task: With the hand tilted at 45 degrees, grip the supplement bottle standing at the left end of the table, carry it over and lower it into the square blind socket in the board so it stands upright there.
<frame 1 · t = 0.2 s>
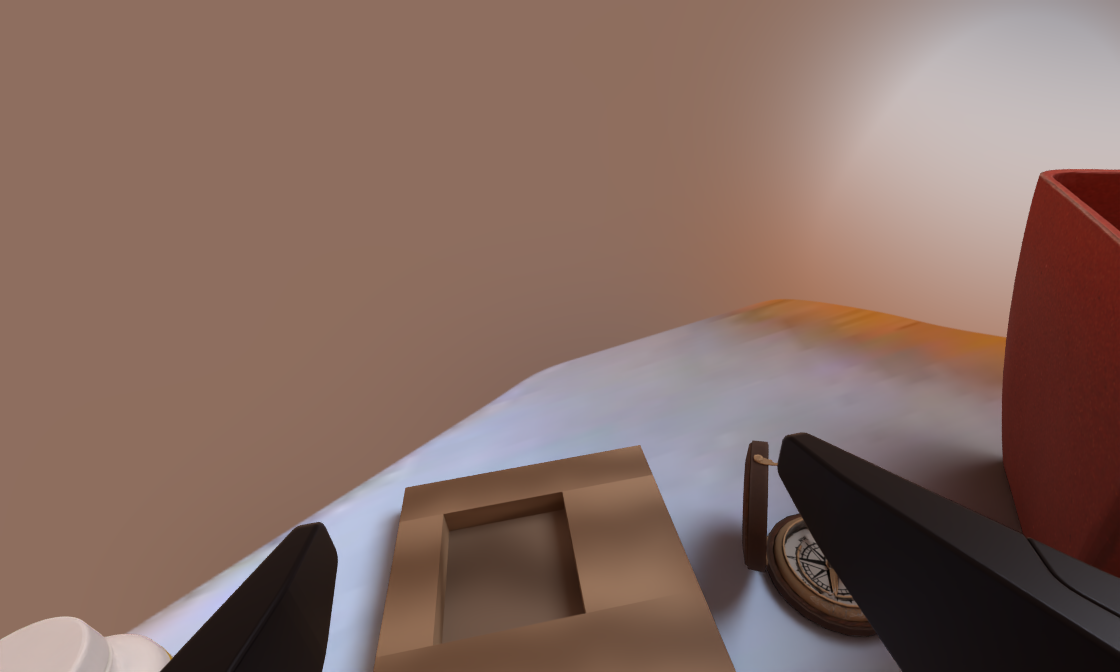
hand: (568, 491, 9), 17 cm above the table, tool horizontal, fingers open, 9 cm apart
compass: (809, 555, 24), on the table
socket board: (512, 579, 25), on the table
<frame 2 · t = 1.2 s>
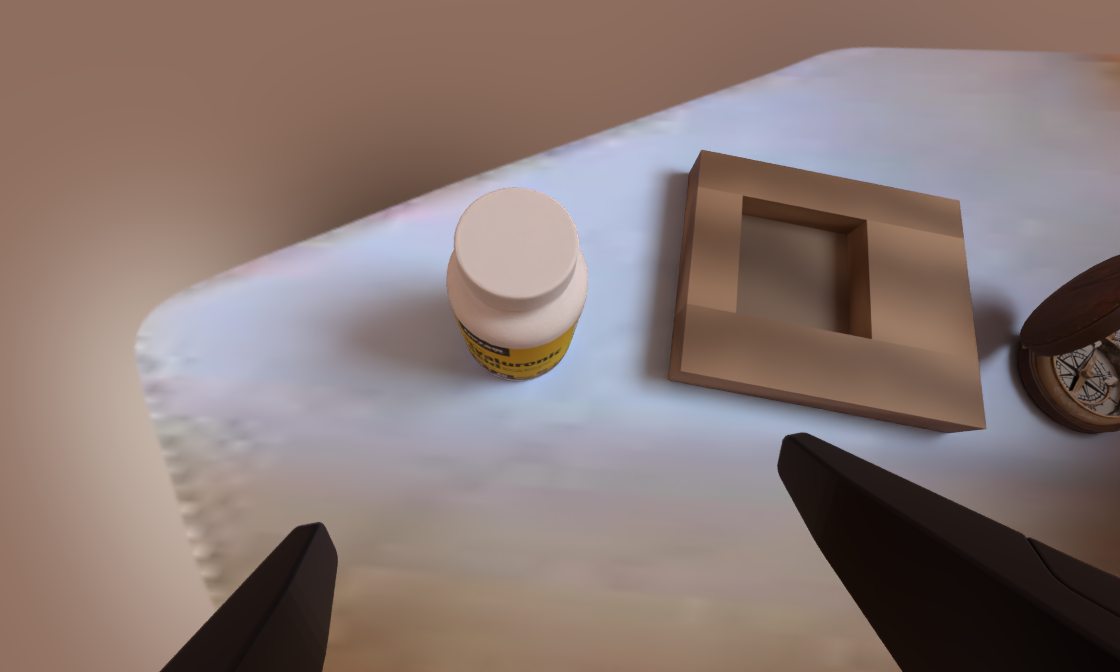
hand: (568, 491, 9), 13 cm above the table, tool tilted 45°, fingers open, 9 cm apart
compass: (1056, 357, 26), on the table
socket board: (784, 280, 26), on the table
supplement bottle: (519, 334, 24), on the table
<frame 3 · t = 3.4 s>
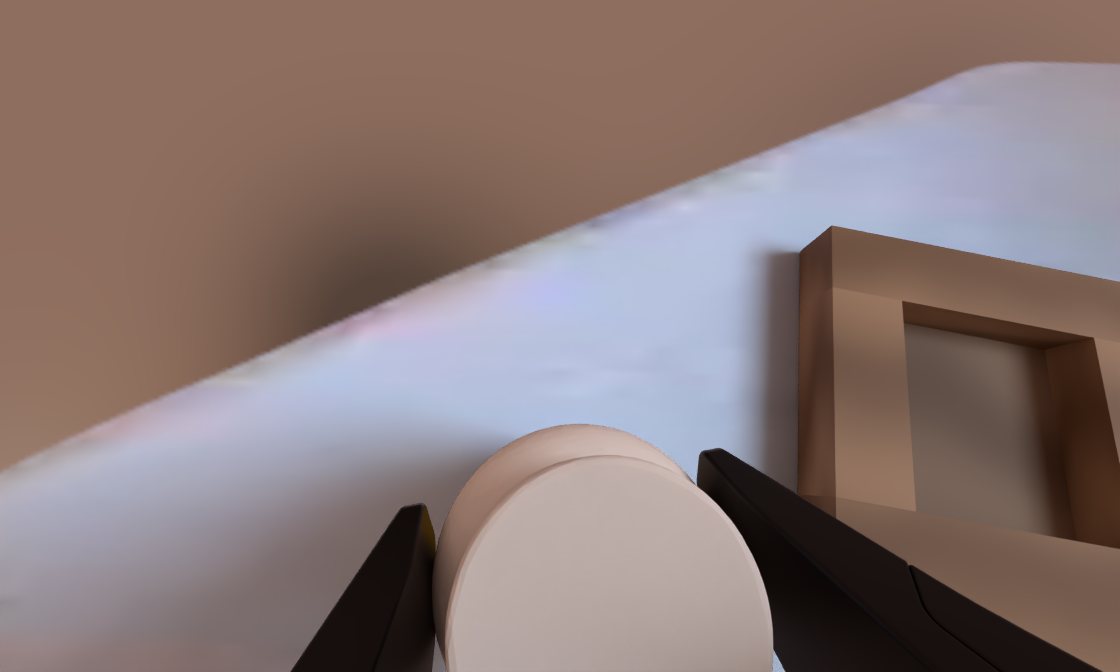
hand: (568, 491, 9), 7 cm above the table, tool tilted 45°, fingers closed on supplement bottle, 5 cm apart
socket board: (956, 424, 17), on the table
supplement bottle: (555, 530, 15), on the table, touching gripper
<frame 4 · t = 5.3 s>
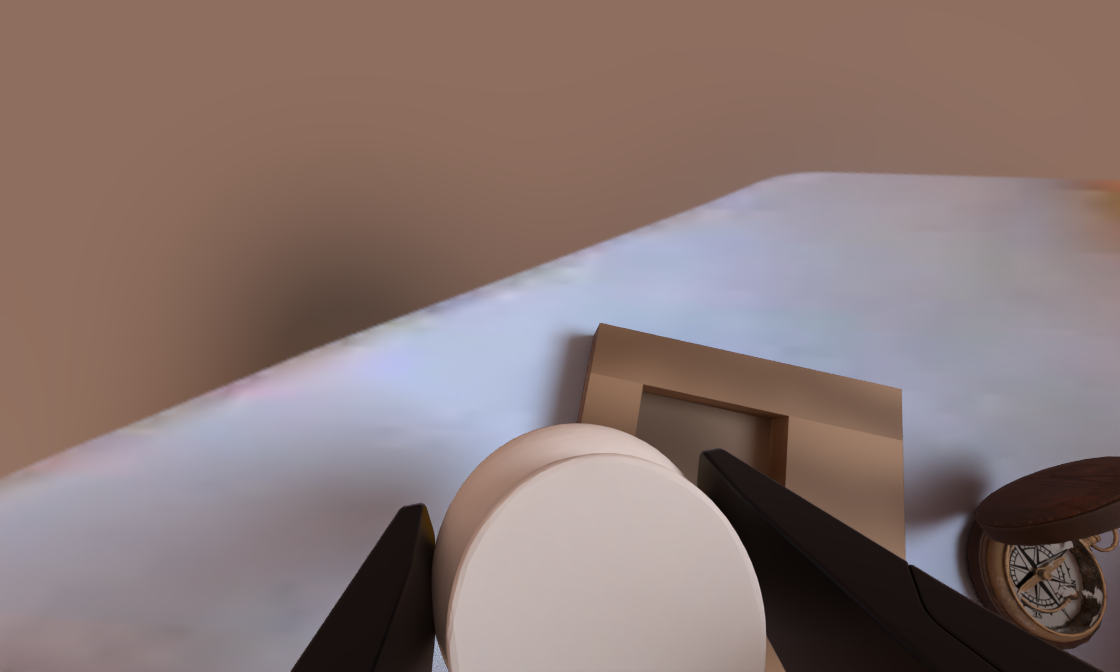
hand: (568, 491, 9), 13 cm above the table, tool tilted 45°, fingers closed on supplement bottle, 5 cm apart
compass: (1020, 544, 23), on the table
socket board: (692, 476, 22), on the table
supplement bottle: (551, 528, 15), point 6 cm above the table, touching gripper
when the fingers open (9 cm above the table, at t = 7.3 s): supplement bottle drops 2 cm, resting on socket board.
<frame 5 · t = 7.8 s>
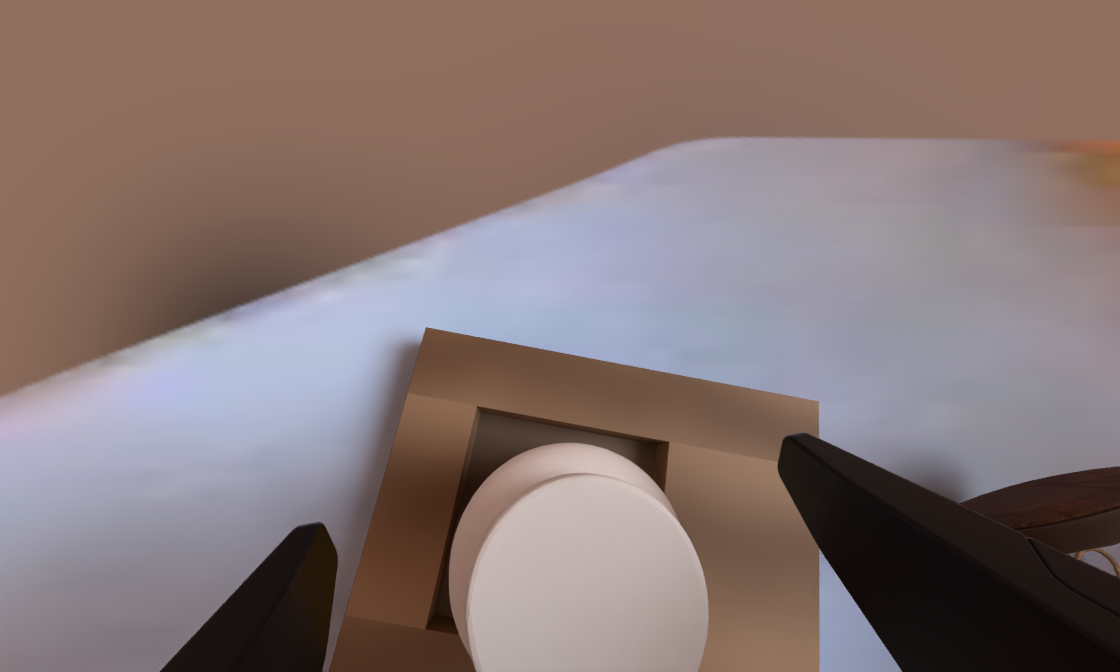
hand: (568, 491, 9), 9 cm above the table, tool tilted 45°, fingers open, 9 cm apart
compass: (994, 575, 18), on the table
socket board: (552, 522, 17), on the table
supplement bottle: (551, 529, 17), resting on socket board
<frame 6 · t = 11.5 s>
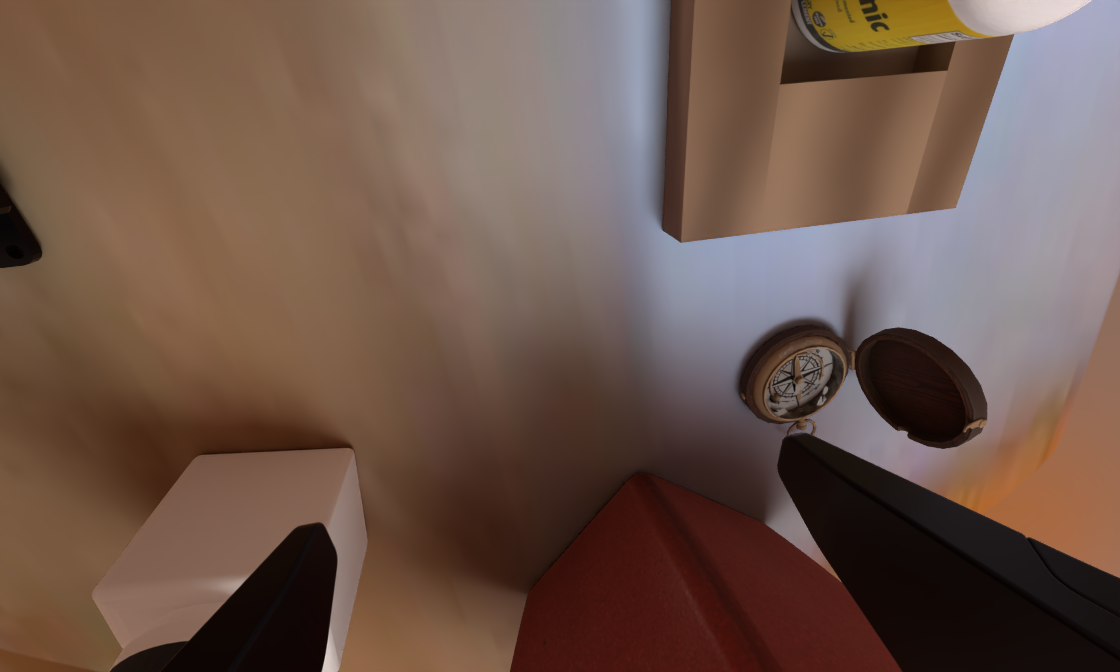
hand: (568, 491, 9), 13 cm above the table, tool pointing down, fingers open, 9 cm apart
medicine bottle: (291, 498, 24), on the table
plant pot: (649, 555, 32), on the table
compass: (799, 377, 27), on the table
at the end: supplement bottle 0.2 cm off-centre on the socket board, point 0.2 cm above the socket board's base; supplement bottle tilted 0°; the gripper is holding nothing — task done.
